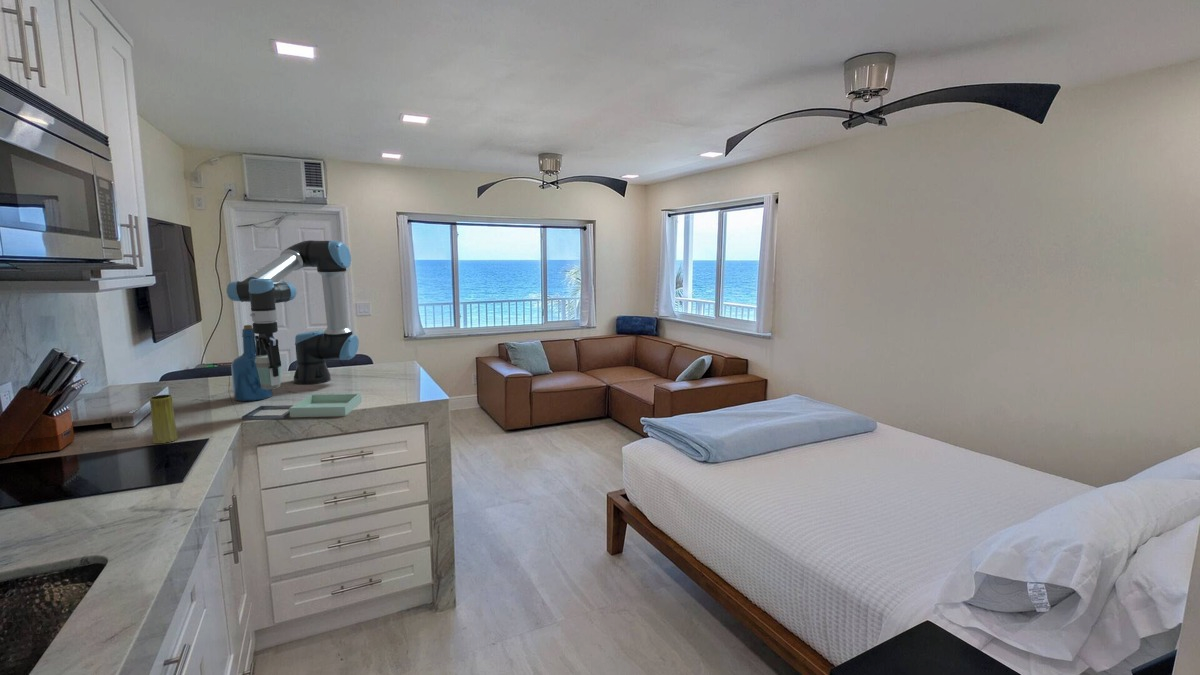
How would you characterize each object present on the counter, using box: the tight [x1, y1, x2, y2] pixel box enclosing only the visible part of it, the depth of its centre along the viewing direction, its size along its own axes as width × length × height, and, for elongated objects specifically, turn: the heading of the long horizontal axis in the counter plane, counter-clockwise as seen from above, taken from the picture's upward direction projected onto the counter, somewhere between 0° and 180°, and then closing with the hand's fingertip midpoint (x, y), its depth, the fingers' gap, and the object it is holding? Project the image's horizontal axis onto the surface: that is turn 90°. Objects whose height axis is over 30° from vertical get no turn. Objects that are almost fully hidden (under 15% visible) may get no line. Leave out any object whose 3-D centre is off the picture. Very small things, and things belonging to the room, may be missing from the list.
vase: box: [149, 394, 179, 444], centre depth 160 cm, size 6×6×14 cm
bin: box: [289, 392, 362, 418], centre depth 197 cm, size 19×19×4 cm
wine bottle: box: [230, 324, 274, 402], centre depth 208 cm, size 14×13×30 cm
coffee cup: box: [255, 354, 283, 390], centre depth 189 cm, size 9×8×12 cm
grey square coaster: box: [241, 404, 294, 421], centre depth 191 cm, size 14×14×1 cm
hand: (270, 382), depth 189 cm, fingers closed on coffee cup, 8 cm apart
